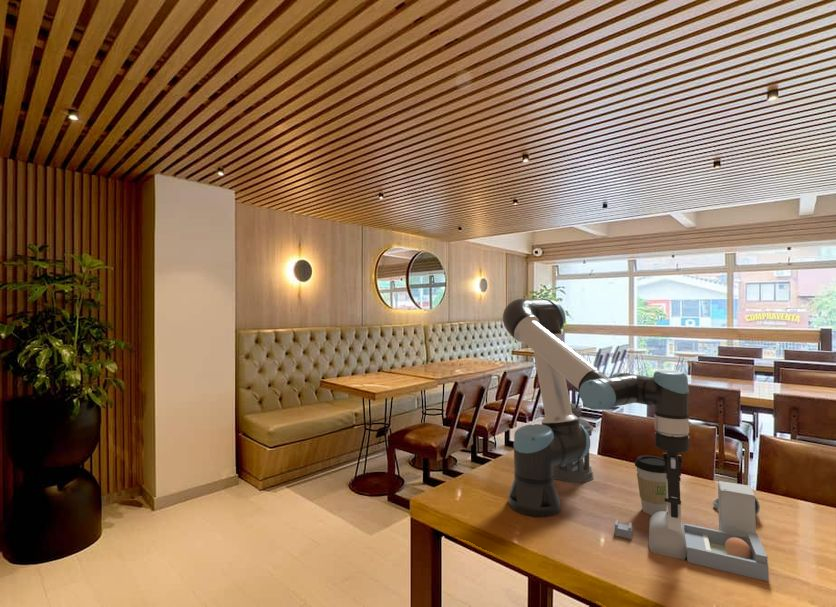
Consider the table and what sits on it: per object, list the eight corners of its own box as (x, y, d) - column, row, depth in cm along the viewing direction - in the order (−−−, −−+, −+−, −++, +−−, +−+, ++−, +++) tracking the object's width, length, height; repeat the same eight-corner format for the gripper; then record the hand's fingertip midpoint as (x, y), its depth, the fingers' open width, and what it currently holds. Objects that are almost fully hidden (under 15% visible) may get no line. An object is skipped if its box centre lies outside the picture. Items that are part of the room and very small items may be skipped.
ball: (734, 568, 98) (722, 546, 99) (730, 556, 102) (718, 535, 103) (758, 564, 95) (745, 542, 96) (753, 552, 100) (741, 531, 101)
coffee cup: (679, 520, 118) (678, 467, 119) (641, 517, 120) (640, 465, 121) (666, 505, 128) (665, 455, 128) (631, 502, 130) (630, 453, 130)
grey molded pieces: (613, 551, 107) (612, 520, 107) (617, 529, 118) (616, 500, 118) (768, 591, 92) (768, 554, 92) (757, 560, 103) (756, 527, 103)
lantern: (536, 473, 154) (535, 377, 154) (559, 462, 165) (558, 372, 166) (581, 487, 141) (579, 383, 142) (602, 473, 153) (600, 377, 153)
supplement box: (756, 546, 105) (755, 495, 106) (720, 538, 109) (719, 489, 110) (752, 533, 112) (751, 485, 112) (718, 525, 116) (717, 479, 116)
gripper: (693, 449, 94) (695, 545, 93) (686, 422, 115) (688, 500, 115) (654, 444, 97) (656, 536, 97) (655, 419, 119) (656, 494, 119)
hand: (673, 517), depth 106 cm, fingers open, 13 cm apart
